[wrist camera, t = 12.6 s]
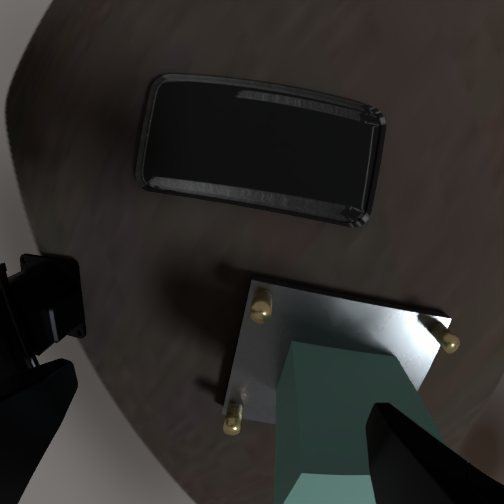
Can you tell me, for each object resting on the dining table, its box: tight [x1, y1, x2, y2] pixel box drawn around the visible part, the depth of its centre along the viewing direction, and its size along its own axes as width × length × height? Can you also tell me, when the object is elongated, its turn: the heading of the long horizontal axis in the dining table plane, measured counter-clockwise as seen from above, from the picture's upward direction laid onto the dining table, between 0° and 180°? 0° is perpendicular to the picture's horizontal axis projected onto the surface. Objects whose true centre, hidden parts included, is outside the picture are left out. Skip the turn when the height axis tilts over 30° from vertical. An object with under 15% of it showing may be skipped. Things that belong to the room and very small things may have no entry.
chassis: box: [222, 275, 460, 435], centre depth 20 cm, size 15×12×4 cm
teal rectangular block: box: [274, 341, 447, 504], centre depth 16 cm, size 8×4×11 cm, turn 78°
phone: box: [135, 74, 386, 227], centre depth 18 cm, size 8×1×15 cm
